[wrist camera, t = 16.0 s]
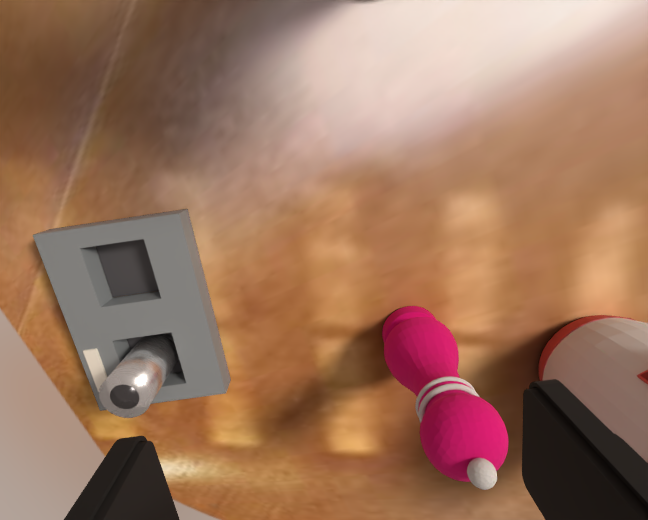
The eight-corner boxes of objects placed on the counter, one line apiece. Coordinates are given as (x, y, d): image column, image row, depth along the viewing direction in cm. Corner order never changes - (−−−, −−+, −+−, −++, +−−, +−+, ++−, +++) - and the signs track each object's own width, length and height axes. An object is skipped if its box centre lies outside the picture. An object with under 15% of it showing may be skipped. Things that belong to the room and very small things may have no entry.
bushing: (132, 335, 41) (91, 379, 34) (174, 329, 41) (142, 372, 34) (144, 371, 43) (107, 421, 35) (184, 365, 43) (156, 414, 35)
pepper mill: (381, 363, 44) (433, 536, 25) (373, 306, 41) (425, 447, 22) (443, 353, 43) (545, 520, 24) (439, 296, 41) (547, 429, 22)
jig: (50, 229, 38) (31, 235, 35) (187, 208, 38) (178, 213, 35) (111, 396, 44) (99, 411, 41) (230, 379, 44) (225, 394, 41)
